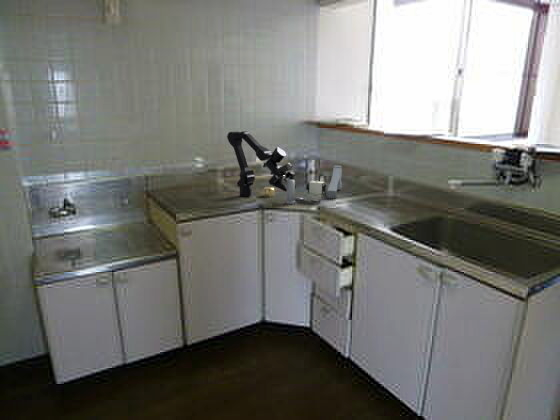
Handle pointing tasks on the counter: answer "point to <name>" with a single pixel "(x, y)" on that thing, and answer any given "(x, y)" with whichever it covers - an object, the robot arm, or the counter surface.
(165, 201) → the counter surface
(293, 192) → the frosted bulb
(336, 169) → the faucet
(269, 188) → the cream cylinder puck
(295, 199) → the dark grey metal disc
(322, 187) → the pneumatic valve
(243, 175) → the robot arm
